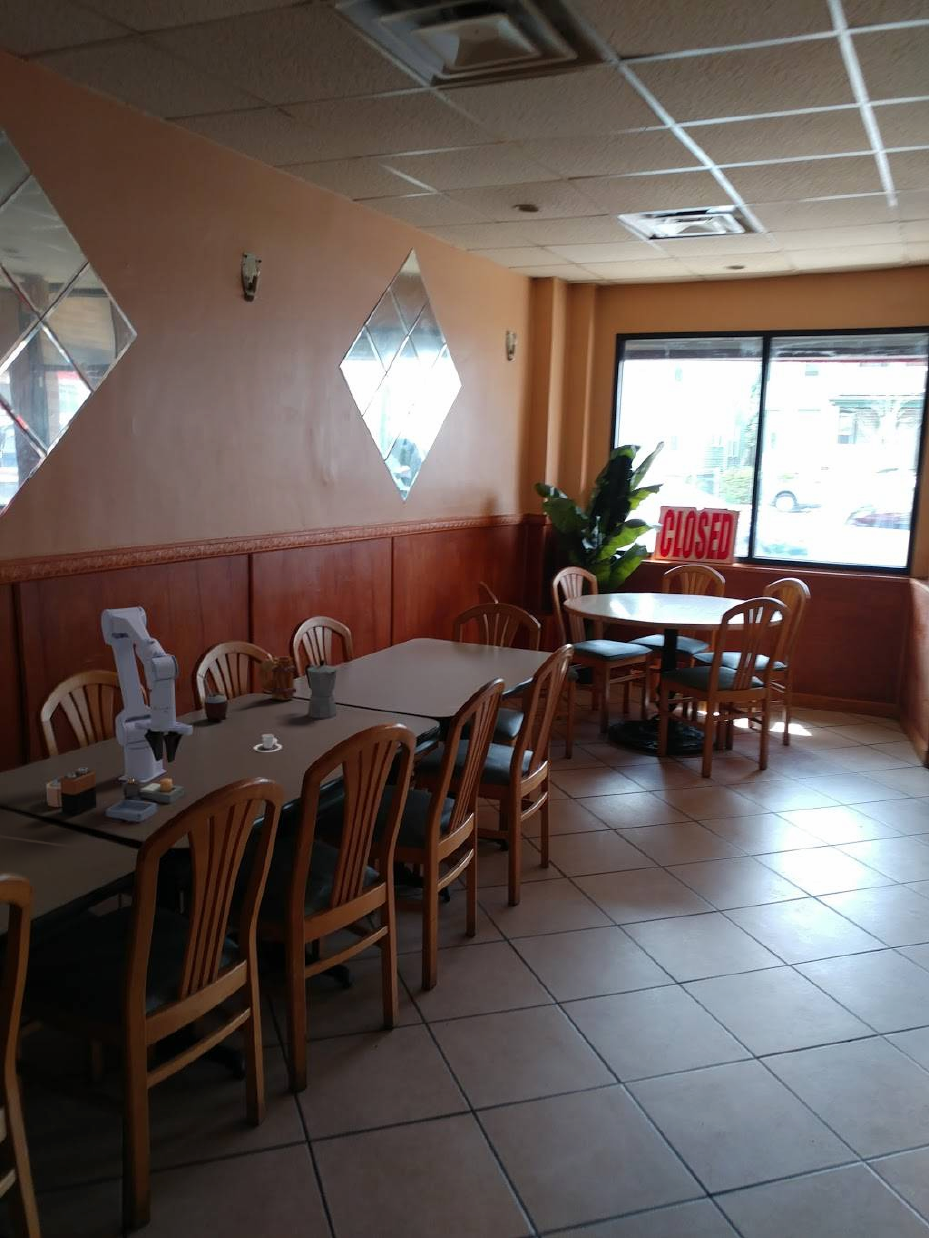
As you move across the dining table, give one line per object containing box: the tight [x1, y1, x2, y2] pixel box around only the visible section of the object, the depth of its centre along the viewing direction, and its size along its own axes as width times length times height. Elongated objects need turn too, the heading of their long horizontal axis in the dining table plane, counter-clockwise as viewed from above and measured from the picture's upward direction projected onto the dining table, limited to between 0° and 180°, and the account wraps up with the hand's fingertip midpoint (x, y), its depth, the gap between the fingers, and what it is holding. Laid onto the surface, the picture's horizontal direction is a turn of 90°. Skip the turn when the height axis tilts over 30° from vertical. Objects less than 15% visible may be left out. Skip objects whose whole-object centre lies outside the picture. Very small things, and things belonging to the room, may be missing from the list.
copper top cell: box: [121, 779, 142, 801], centre depth 224 cm, size 4×4×6 cm
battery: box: [60, 766, 98, 817], centre depth 218 cm, size 4×7×10 cm, turn 156°
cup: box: [46, 780, 62, 808], centre depth 223 cm, size 6×6×5 cm
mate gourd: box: [196, 673, 229, 724], centre depth 291 cm, size 8×8×15 cm
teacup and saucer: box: [253, 733, 283, 753], centre depth 267 cm, size 9×8×4 cm
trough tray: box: [104, 798, 159, 823], centre depth 217 cm, size 7×9×2 cm
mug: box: [258, 655, 297, 701], centre depth 314 cm, size 15×8×15 cm, turn 144°
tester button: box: [159, 778, 173, 793], centre depth 228 cm, size 3×3×3 cm
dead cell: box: [52, 775, 65, 788], centre depth 223 cm, size 4×4×6 cm
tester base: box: [140, 782, 185, 804], centre depth 229 cm, size 9×6×2 cm, turn 75°
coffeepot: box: [304, 659, 338, 719], centre depth 299 cm, size 15×9×18 cm, turn 44°
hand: (165, 760), depth 227 cm, fingers open, 3 cm apart
